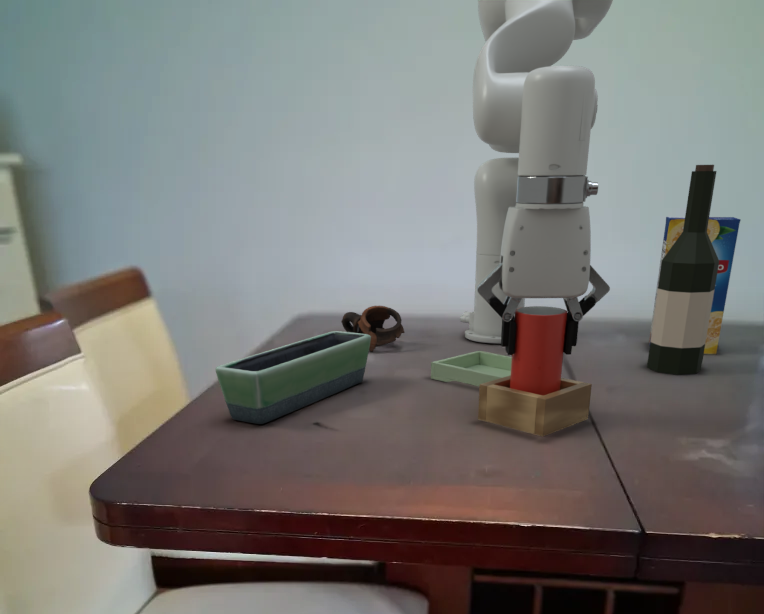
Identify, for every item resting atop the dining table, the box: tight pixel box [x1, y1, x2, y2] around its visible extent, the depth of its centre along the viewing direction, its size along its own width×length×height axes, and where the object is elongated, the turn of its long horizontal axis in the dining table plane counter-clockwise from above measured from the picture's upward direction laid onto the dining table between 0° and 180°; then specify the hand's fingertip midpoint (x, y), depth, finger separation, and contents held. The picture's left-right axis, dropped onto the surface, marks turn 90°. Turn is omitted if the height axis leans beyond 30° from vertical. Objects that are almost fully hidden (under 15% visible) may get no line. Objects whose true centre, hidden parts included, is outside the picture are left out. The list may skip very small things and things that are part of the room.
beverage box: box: [648, 216, 741, 355], centre depth 129 cm, size 7×11×22 cm, turn 75°
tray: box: [430, 350, 512, 387], centre depth 114 cm, size 15×12×3 cm
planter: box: [215, 330, 371, 425], centre depth 104 cm, size 28×7×7 cm, turn 150°
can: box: [510, 305, 568, 396], centre depth 91 cm, size 6×6×10 cm
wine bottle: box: [646, 164, 719, 376], centre depth 114 cm, size 8×8×30 cm
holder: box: [477, 375, 593, 438], centre depth 94 cm, size 10×10×5 cm
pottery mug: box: [340, 305, 406, 352], centre depth 137 cm, size 12×10×8 cm
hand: (537, 351), depth 91 cm, fingers closed on can, 6 cm apart
